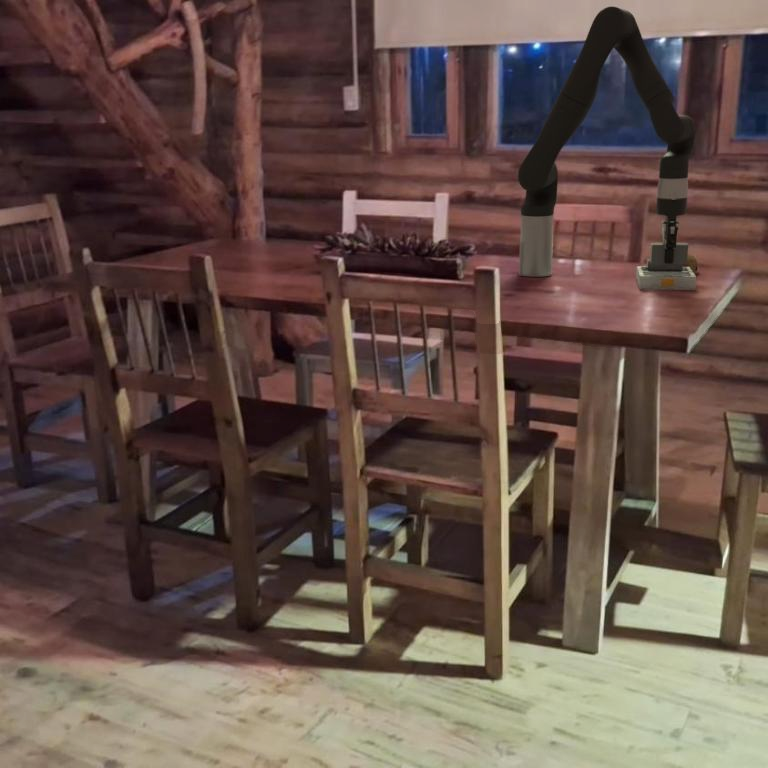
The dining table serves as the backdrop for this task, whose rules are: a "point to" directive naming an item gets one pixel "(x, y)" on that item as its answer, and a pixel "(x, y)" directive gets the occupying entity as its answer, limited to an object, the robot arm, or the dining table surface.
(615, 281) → the dining table surface
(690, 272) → the rack
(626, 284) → the dining table surface
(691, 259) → the bread roll
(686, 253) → the panel
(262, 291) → the dining table surface
